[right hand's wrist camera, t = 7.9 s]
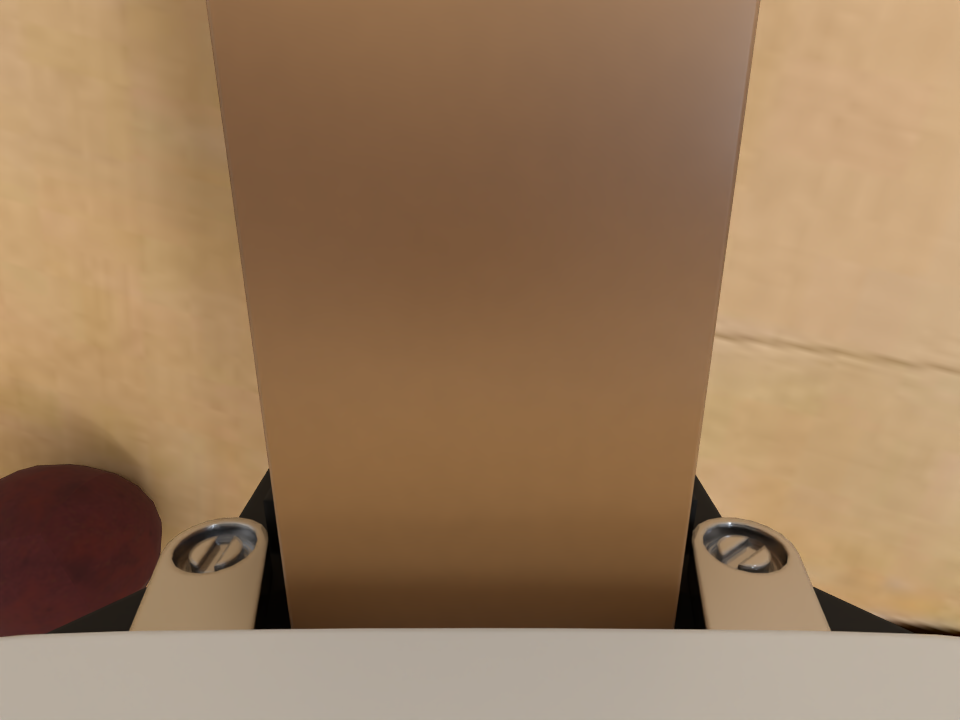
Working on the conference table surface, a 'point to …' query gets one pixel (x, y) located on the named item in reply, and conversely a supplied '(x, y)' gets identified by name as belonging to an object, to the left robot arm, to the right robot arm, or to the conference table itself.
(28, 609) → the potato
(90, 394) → the conference table surface
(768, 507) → the conference table surface
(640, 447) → the bar
